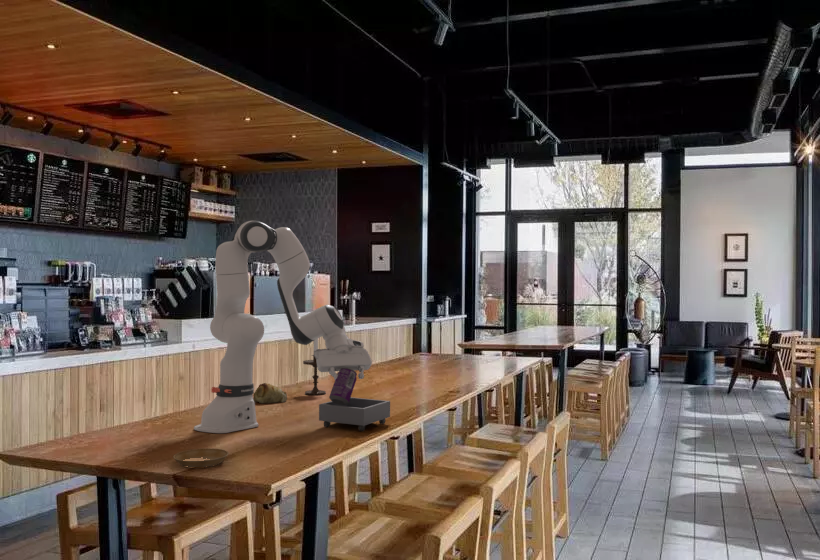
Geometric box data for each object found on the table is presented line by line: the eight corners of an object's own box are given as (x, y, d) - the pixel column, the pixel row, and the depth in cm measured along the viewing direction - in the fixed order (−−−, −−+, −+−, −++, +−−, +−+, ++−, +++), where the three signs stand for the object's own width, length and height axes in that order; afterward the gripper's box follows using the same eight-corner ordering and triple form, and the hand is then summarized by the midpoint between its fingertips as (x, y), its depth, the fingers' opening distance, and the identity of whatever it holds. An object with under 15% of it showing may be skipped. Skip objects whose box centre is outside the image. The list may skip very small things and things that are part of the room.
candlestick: (330, 394, 326) (331, 315, 326) (306, 396, 322) (306, 315, 322) (324, 391, 336) (324, 313, 336) (300, 392, 332) (301, 314, 332)
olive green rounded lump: (246, 402, 306) (246, 383, 306) (264, 398, 318) (264, 379, 317) (275, 405, 300) (275, 385, 300) (292, 400, 312) (292, 381, 312)
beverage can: (348, 408, 261) (358, 378, 267) (347, 400, 255) (357, 369, 261) (329, 403, 262) (339, 373, 268) (327, 395, 256) (338, 365, 262)
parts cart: (363, 432, 248) (364, 408, 248) (318, 427, 256) (319, 404, 256) (390, 423, 264) (390, 401, 264) (346, 418, 272) (347, 396, 272)
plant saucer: (164, 470, 200) (164, 460, 200) (185, 456, 215) (185, 447, 215) (218, 471, 199) (218, 461, 199) (235, 457, 214) (235, 448, 214)
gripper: (314, 343, 266) (324, 374, 257) (366, 342, 275) (378, 371, 267) (310, 355, 269) (319, 385, 261) (361, 353, 279) (372, 382, 271)
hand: (349, 378), depth 264 cm, fingers open, 8 cm apart
